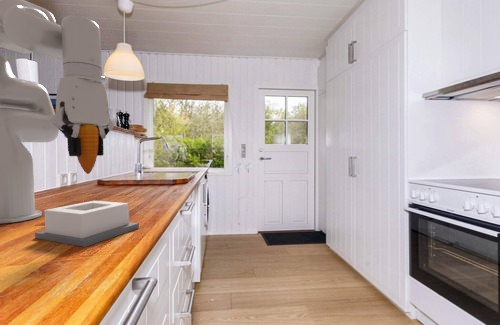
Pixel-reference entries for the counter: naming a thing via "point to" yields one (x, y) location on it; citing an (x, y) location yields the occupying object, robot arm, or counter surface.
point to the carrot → (88, 146)
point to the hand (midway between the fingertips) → (86, 155)
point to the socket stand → (86, 223)
